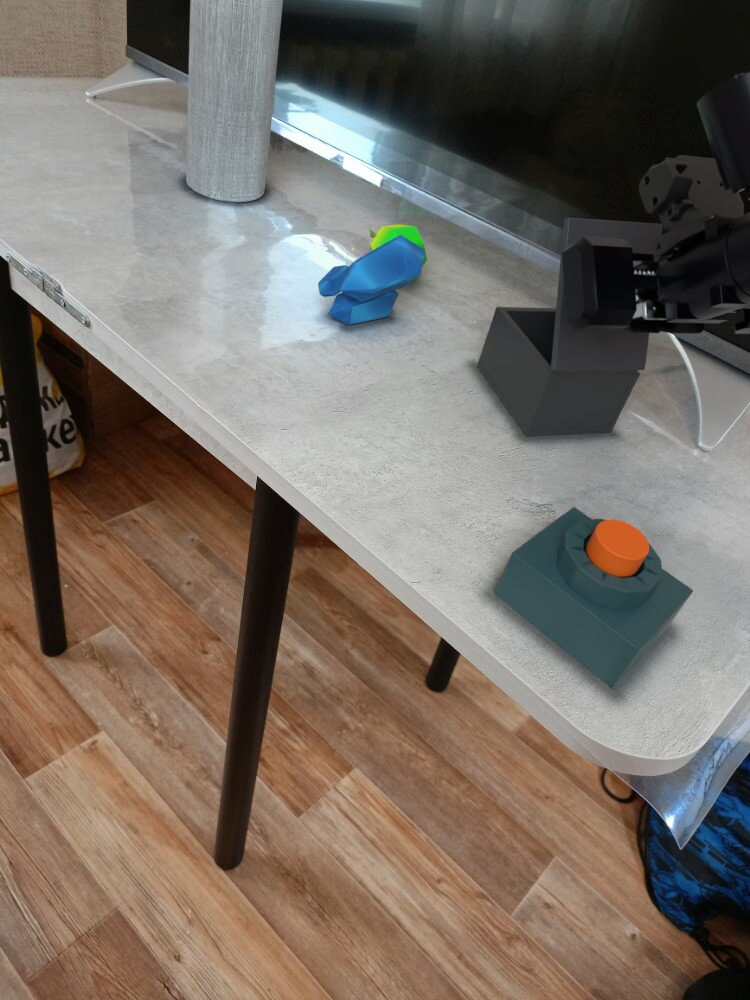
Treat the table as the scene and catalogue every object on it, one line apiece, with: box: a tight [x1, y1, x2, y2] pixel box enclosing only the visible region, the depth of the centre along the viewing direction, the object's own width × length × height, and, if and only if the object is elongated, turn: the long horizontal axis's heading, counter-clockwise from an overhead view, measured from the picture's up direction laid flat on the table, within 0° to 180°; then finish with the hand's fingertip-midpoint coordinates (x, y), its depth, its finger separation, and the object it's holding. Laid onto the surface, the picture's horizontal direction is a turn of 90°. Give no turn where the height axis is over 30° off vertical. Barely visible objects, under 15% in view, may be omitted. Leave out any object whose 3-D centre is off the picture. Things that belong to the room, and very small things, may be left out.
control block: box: [493, 506, 694, 689], centre depth 52 cm, size 10×8×6 cm
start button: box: [586, 519, 650, 577], centre depth 49 cm, size 4×4×2 cm
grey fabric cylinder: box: [185, 0, 284, 203], centre depth 88 cm, size 10×10×27 cm
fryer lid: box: [551, 217, 663, 371], centre depth 64 cm, size 12×9×1 cm
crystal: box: [317, 235, 426, 326], centre depth 77 cm, size 7×9×12 cm
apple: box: [368, 223, 428, 268], centre depth 87 cm, size 7×6×9 cm
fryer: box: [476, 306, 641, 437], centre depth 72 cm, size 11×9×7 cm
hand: (606, 316), depth 64 cm, fingers closed, pressing on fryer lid
